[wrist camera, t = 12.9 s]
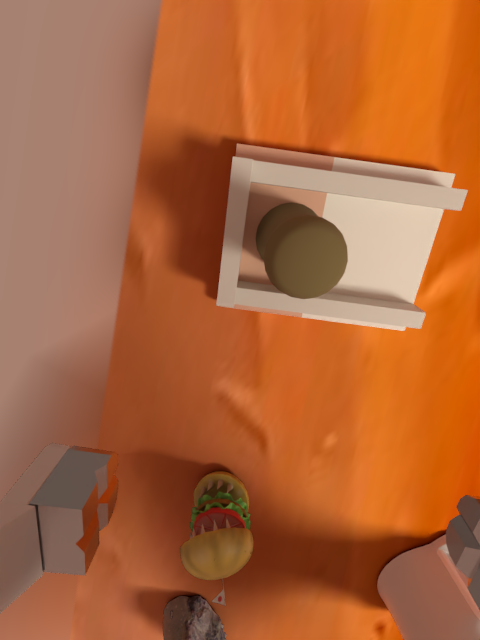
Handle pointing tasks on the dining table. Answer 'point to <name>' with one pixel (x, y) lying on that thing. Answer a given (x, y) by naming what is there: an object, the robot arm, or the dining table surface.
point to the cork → (301, 251)
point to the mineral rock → (191, 620)
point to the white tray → (352, 221)
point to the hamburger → (218, 530)
